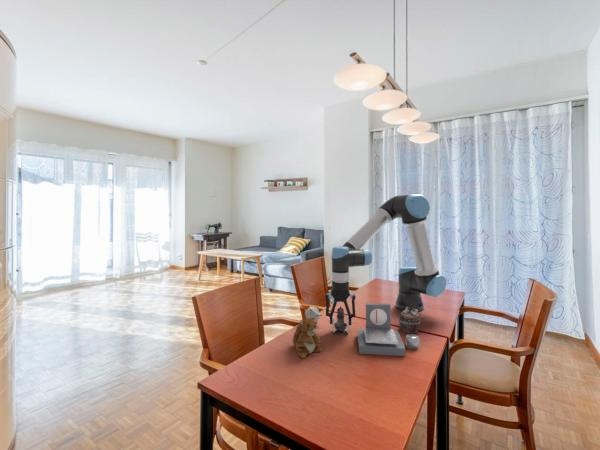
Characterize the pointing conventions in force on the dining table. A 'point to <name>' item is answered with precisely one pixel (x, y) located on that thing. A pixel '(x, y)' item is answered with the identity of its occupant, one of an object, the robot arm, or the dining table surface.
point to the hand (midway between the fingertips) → (340, 331)
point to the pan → (380, 336)
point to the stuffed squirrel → (306, 338)
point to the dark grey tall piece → (340, 322)
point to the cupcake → (410, 320)
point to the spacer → (412, 341)
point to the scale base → (380, 319)
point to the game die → (312, 313)
